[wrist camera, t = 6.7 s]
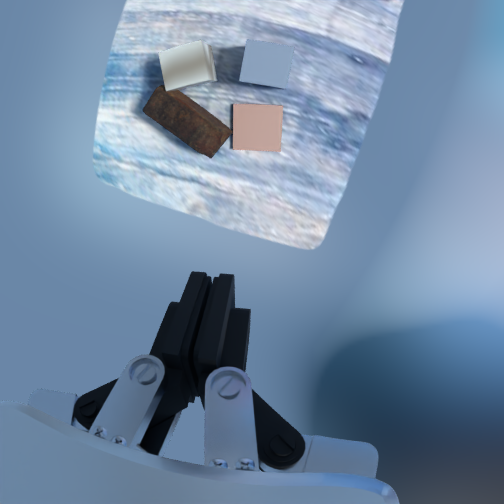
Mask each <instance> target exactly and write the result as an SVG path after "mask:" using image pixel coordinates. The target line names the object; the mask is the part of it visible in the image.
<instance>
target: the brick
mask: <svg viewBox="0 0 504 504" xmlns="http://www.w3.org/2000/svg"><path fill="white" fill-rule="evenodd" d="M143 112H144V113H145V114H146V115H148V116H149V117H151V118H152V119H153V120H155V121H156V122H157V123H159V124H160V125H162V126H163V127H164V128H166V129H167V130H169V131H170V132H171V133H173V134H174V135H175V136H177V137H178V138H179V139H181V140H182V141H184V142H185V143H186V144H188V145H189V146H190V147H192V148H193V149H194V150H196V151H197V152H199V153H201V154H204V155H206V156H208V157H209V158H212V157H213V156H214V154H215V153H216V152H217V151H218V149H219V148H220V147H221V146H222V145H223V144H224V142H225V141H226V140H227V139H228V137H229V136H230V135H231V134H232V130H230V129H229V128H228V127H227V126H226V125H225V124H223V123H222V122H221V121H220V120H219V119H217V118H216V117H215V116H213V115H212V114H211V113H209V112H208V111H207V110H205V109H204V108H203V107H201V106H200V105H199V104H197V103H196V102H194V101H193V100H192V99H190V98H189V97H187V96H186V95H185V94H183V93H182V92H180V91H179V90H174V91H166V89H165V85H161V86H159V87H157V88H156V89H155V91H154V93H153V94H152V96H151V97H150V99H149V100H148V102H147V104H146V105H145V107H144V108H143Z"/></svg>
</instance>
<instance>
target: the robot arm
mask: <svg viewBox="0 0 504 504" xmlns="http://www.w3.org/2000/svg"><path fill="white" fill-rule="evenodd" d="M234 289H235V285H234V275H233V274H220V275H219V277H214V279H213V283H212V280H211V277H210V276H207V274H206V273H205V272H194V271H193V272H191V274H190V277H189V280H188V282H187V284H186V287H185V290H184V292H183V295H182V297H181V300H180V302H171V303H170V304H169V306H168V309H167V311H166V313H165V316H164V318H163V321H162V323H161V326H160V328H159V331H158V333H157V336H156V338H155V341H154V344H153V346H152V349H151V351H150V354H149V355H140V356H137V357H135V358H133V359H132V360H131V361H130V362H129V363H128V364H127V366H126V367H125V369H124V371H123V372H122V374H121V376H120V377H119V378H118V379H116V380H113V381H111V382H110V383H107V384H105V385H103V386H101V387H99V388H97V389H94V390H92V391H90V392H88V393H86V394H84V395H82V396H77V395H76V394H73V393H65V392H58V391H52V390H46V389H37V390H35V391H34V392H33V393H32V394H31V395H30V398H29V401H28V405H26V404H24V403H20V402H15V401H1V402H0V504H399V501H398V498H397V495H396V493H395V491H394V490H393V489H392V487H390V486H389V485H388V484H386V483H384V482H382V481H379V480H377V479H375V476H376V470H377V464H378V452H377V450H376V449H375V447H373V446H372V445H371V444H369V443H365V442H358V441H349V440H342V439H335V438H329V437H322V436H317V435H314V436H308V435H303V434H300V433H299V432H298V431H297V430H296V429H295V428H294V427H292V426H291V425H290V424H289V423H288V422H287V421H285V420H284V419H283V418H282V417H281V416H280V415H279V414H278V413H277V412H276V411H275V410H274V409H272V408H271V407H270V406H269V405H268V404H267V403H266V402H265V401H264V400H263V399H262V398H261V397H260V396H259V395H258V394H257V393H256V392H254V390H253V389H252V387H251V382H250V378H249V377H248V375H247V374H246V373H245V370H246V362H247V352H248V343H249V333H250V313H251V310H250V309H243V308H235V290H234ZM195 396H197V397H199V396H200V398H201V402H202V405H203V408H204V410H205V435H204V436H205V438H204V440H205V441H204V447H205V449H204V450H205V451H204V453H205V466H204V465H198V464H192V463H187V462H182V461H178V460H173V459H169V458H164V457H163V456H164V454H165V451H166V449H167V446H168V444H169V442H170V439H171V437H172V435H173V432H174V430H175V427H176V425H177V423H178V420H179V418H180V415H181V412H182V410H183V409H185V408H187V407H188V403H189V402H192V403H194V400H195ZM259 469H260V470H261V471H262V472H259Z"/></svg>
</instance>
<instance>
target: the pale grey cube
mask: <svg viewBox="0 0 504 504" xmlns="http://www.w3.org/2000/svg"><path fill="white" fill-rule="evenodd" d="M158 54H159V59H160V64H161V69H162V74H163V79H164V84H165V89H166V91H174V90H182V89H186V88H190V87H194V86H198V85H202V84H207V83H211V82H216V81H218V80H217V74H216V69H215V64H214V59H213V54H212V49H211V46H210V45H209V44H207V43H205V42H204V41H202V40H198V41H195V42H191V43H187V44H184V45H180V46H177V47H174V48H170V49H167V50H164V51H161V52H158Z"/></svg>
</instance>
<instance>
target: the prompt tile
mask: <svg viewBox="0 0 504 504" xmlns="http://www.w3.org/2000/svg"><path fill="white" fill-rule="evenodd" d="M282 116H283V106H281V105H262V104H233V150H257V151H276V152H281V135H282Z"/></svg>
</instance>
